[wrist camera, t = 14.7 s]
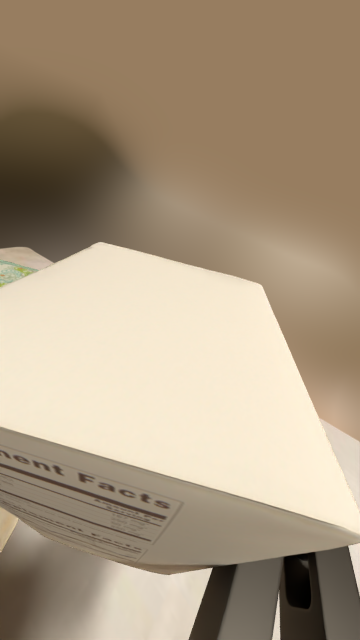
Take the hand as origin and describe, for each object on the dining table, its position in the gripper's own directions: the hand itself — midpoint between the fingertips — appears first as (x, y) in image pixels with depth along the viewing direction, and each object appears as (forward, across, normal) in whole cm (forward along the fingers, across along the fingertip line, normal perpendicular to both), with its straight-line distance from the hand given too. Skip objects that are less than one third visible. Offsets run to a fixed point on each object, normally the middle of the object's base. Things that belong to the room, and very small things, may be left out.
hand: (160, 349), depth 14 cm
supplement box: (-4, 0, -10) cm, 11 cm away
